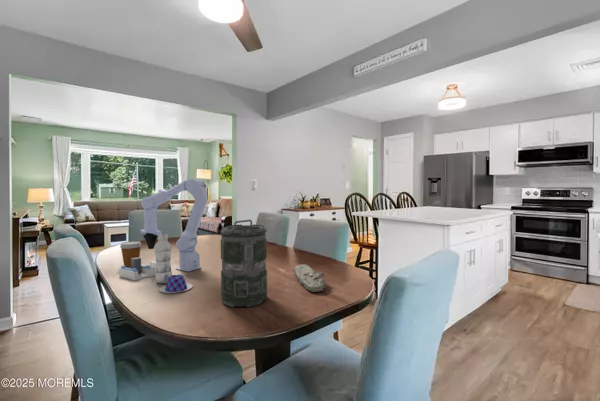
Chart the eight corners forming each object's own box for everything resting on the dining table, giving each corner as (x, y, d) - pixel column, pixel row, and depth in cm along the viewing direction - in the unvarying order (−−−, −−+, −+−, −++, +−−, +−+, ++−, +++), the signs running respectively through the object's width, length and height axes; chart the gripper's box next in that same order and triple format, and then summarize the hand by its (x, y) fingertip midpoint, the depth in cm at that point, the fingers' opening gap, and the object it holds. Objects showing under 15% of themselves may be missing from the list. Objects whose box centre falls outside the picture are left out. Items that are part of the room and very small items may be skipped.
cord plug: (141, 273, 138) (141, 257, 138) (134, 275, 136) (134, 259, 136) (137, 272, 140) (137, 257, 140) (131, 274, 138) (130, 258, 137)
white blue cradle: (168, 271, 145) (167, 262, 145) (134, 280, 131) (134, 269, 131) (153, 268, 151) (152, 259, 151) (119, 276, 138) (119, 266, 137)
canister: (246, 289, 119) (246, 217, 118) (276, 298, 109) (275, 219, 108) (211, 301, 107) (210, 220, 105) (241, 312, 96) (240, 224, 95)
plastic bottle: (166, 285, 124) (165, 236, 123) (151, 284, 125) (150, 236, 124) (175, 281, 130) (174, 234, 129) (161, 280, 131) (160, 233, 131)
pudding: (160, 286, 123) (159, 274, 123) (191, 283, 128) (191, 270, 128) (158, 296, 112) (158, 282, 112) (193, 292, 117) (193, 278, 116)
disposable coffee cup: (135, 268, 150) (134, 244, 150) (116, 268, 150) (115, 244, 150) (145, 264, 160) (145, 241, 159) (127, 264, 160) (127, 241, 160)
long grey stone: (310, 271, 149) (290, 274, 147) (310, 261, 149) (289, 263, 147) (332, 291, 114) (305, 295, 112) (331, 277, 114) (304, 280, 113)
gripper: (134, 221, 152) (135, 248, 153) (151, 223, 144) (152, 251, 145) (147, 220, 158) (148, 246, 159) (165, 221, 150) (165, 249, 151)
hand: (151, 248), depth 152 cm, fingers closed
